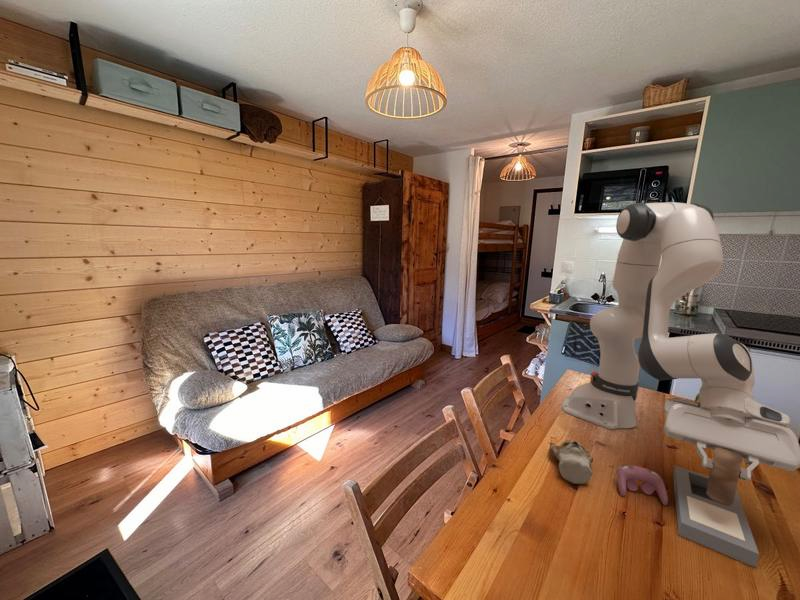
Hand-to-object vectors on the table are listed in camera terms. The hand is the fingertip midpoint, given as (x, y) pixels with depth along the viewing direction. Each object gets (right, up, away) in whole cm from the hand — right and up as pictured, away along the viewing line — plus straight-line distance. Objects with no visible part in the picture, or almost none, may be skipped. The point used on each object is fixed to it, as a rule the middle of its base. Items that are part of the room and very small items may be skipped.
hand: (725, 473), depth 65 cm
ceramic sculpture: (-20, -10, +20) cm, 31 cm away
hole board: (+3, -13, +7) cm, 15 cm away
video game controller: (-8, -12, +13) cm, 19 cm away
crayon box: (+32, -7, +42) cm, 54 cm away
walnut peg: (0, -6, +1) cm, 6 cm away
